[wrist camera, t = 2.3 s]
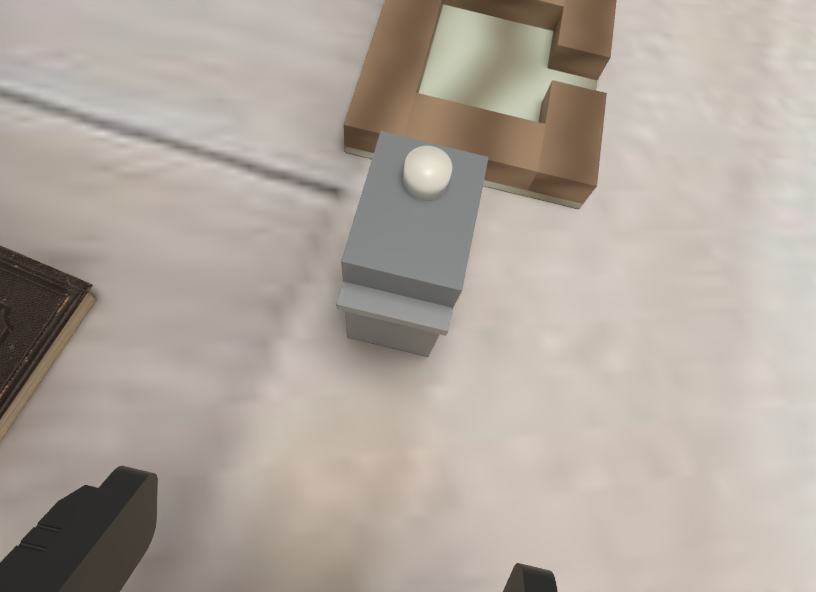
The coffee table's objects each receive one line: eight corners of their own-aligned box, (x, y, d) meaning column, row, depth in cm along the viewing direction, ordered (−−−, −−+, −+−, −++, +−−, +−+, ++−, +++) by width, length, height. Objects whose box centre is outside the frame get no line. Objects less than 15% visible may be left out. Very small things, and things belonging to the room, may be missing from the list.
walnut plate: (344, 152, 32) (343, 124, 30) (405, -33, 38) (408, -69, 36) (579, 209, 32) (596, 186, 30) (602, 15, 38) (618, -18, 36)
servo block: (342, 354, 28) (332, 275, 18) (378, 226, 31) (387, 94, 20) (424, 374, 28) (461, 306, 18) (452, 244, 31) (498, 121, 20)
